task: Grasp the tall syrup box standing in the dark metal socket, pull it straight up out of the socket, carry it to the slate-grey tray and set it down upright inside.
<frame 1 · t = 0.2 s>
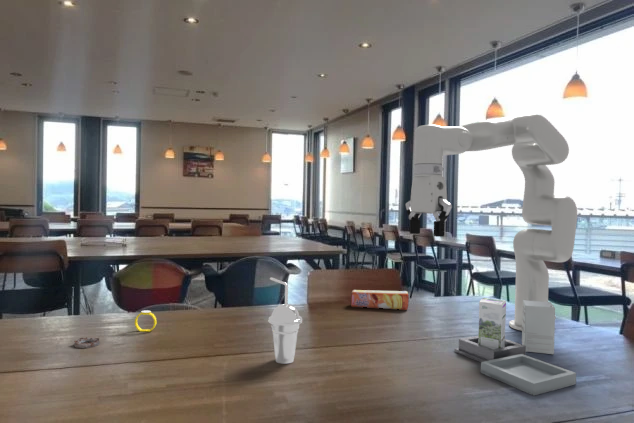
hand: (426, 234, 125), 31 cm above the table, tool pointing down, fingers open, 9 cm apart
donut: (85, 348, 123), on the table
cup with straw: (284, 360, 114), on the table
snack package: (379, 308, 172), on the table
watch: (145, 331, 136), on the table
supplement box: (537, 350, 126), on the table
tray: (526, 378, 105), on the table
socket: (491, 355, 120), on the table
syrup box: (491, 356, 120), resting in socket
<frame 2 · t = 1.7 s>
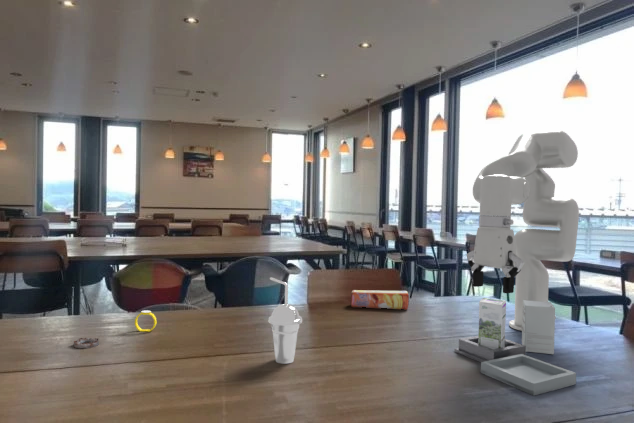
hand: (492, 289, 119), 17 cm above the table, tool pointing down, fingers open, 9 cm apart
nothing on the table moved.
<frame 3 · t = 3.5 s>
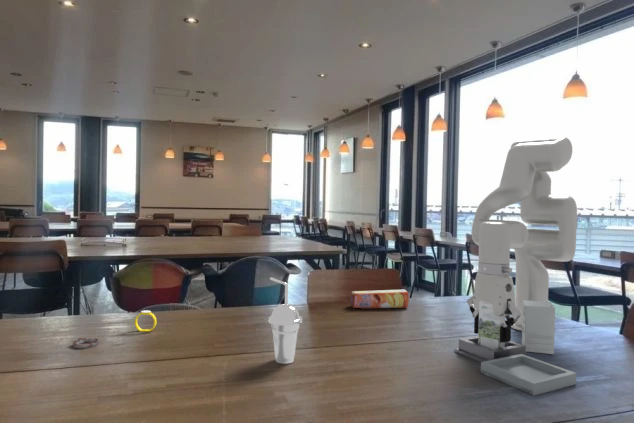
hand: (491, 336, 120), 5 cm above the table, tool pointing down, fingers closed on syrup box, 7 cm apart
syrup box: (491, 356, 120), resting in socket, touching gripper
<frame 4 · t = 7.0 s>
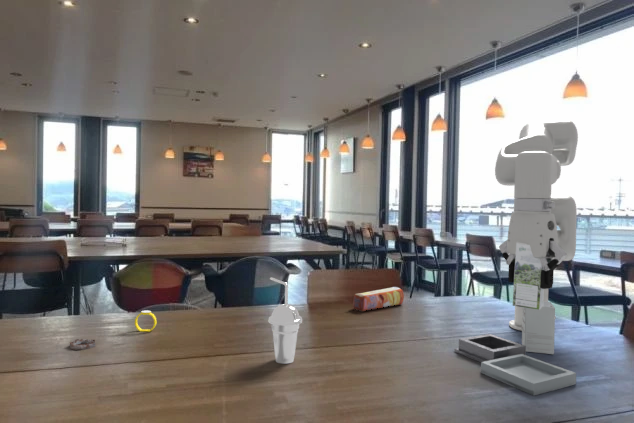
hand: (529, 284, 104), 21 cm above the table, tool pointing down, fingers closed on syrup box, 7 cm apart
syrup box: (527, 307, 104), point 16 cm above the table, touching gripper
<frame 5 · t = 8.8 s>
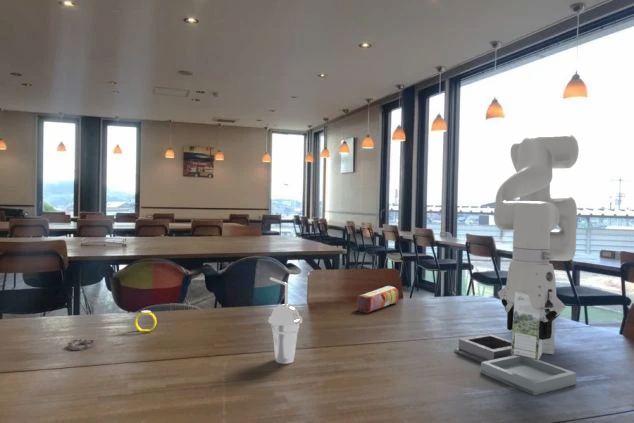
hand: (528, 333, 104), 10 cm above the table, tool pointing down, fingers closed on syrup box, 7 cm apart
syrup box: (526, 356, 104), point 5 cm above the table, touching gripper
when the fingers open (7 cm above the table, at t = 10.5 s): syrup box drops 1 cm, resting on tray.
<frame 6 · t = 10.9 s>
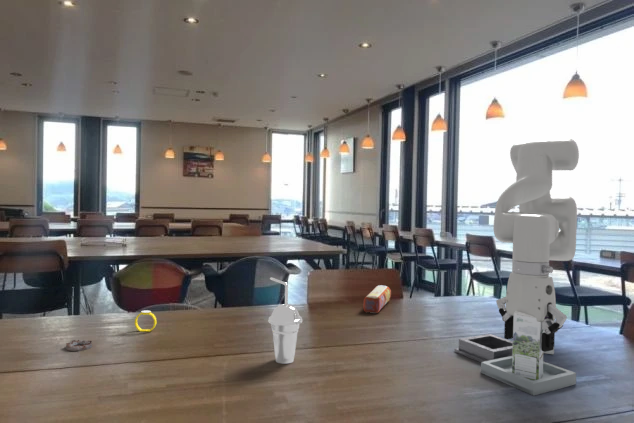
hand: (527, 344, 104), 8 cm above the table, tool pointing down, fingers open, 9 cm apart
syrup box: (527, 376, 104), point 1 cm above the table, touching tray
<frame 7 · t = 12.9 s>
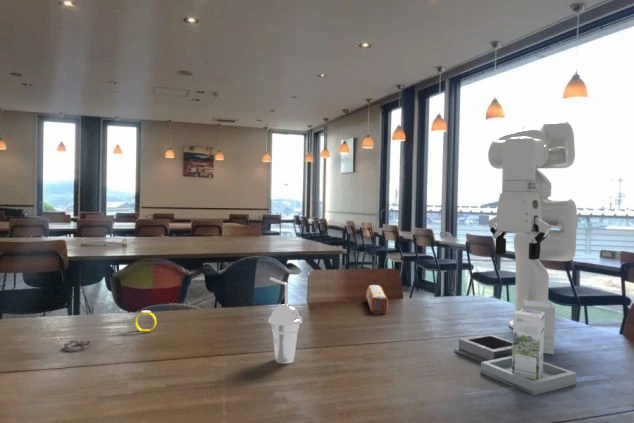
hand: (516, 256, 115), 26 cm above the table, tool pointing down, fingers open, 9 cm apart
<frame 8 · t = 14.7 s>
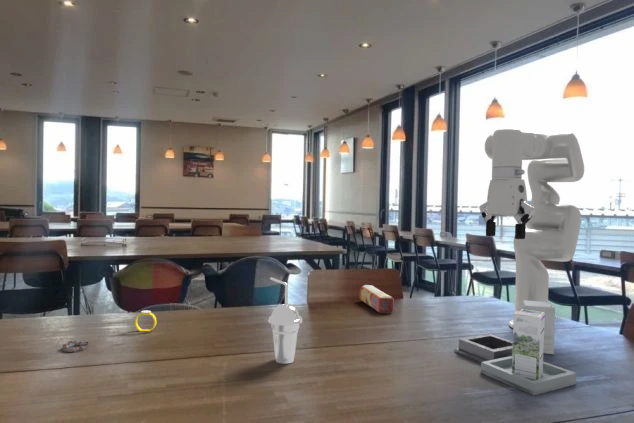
hand: (504, 237, 126), 30 cm above the table, tool pointing down, fingers open, 9 cm apart
at the end: syrup box inside the target area on the tray (0.4 cm from its centre), point 0.6 cm above the tray's base; syrup box tilted 0°; the gripper is holding nothing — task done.
